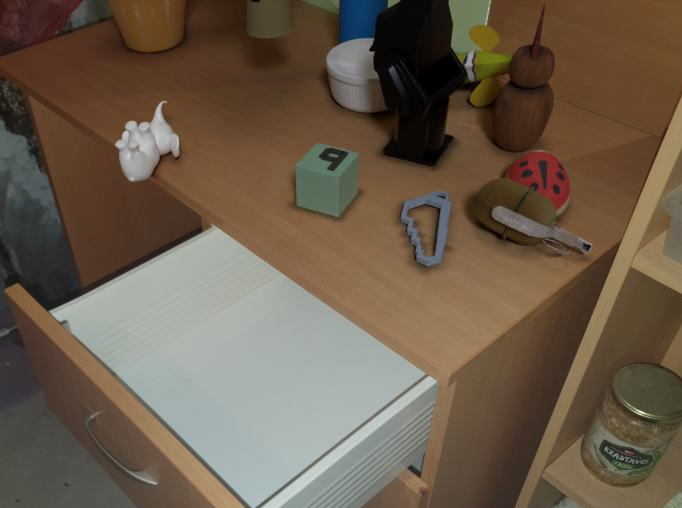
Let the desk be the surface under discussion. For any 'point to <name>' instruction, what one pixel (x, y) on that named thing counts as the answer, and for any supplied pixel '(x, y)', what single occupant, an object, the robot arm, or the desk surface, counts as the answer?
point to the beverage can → (359, 18)
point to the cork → (269, 18)
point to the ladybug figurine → (542, 177)
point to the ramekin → (355, 76)
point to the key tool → (442, 228)
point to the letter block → (327, 179)
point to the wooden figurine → (525, 97)
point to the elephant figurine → (146, 146)
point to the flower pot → (150, 23)
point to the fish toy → (484, 64)
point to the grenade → (522, 215)
